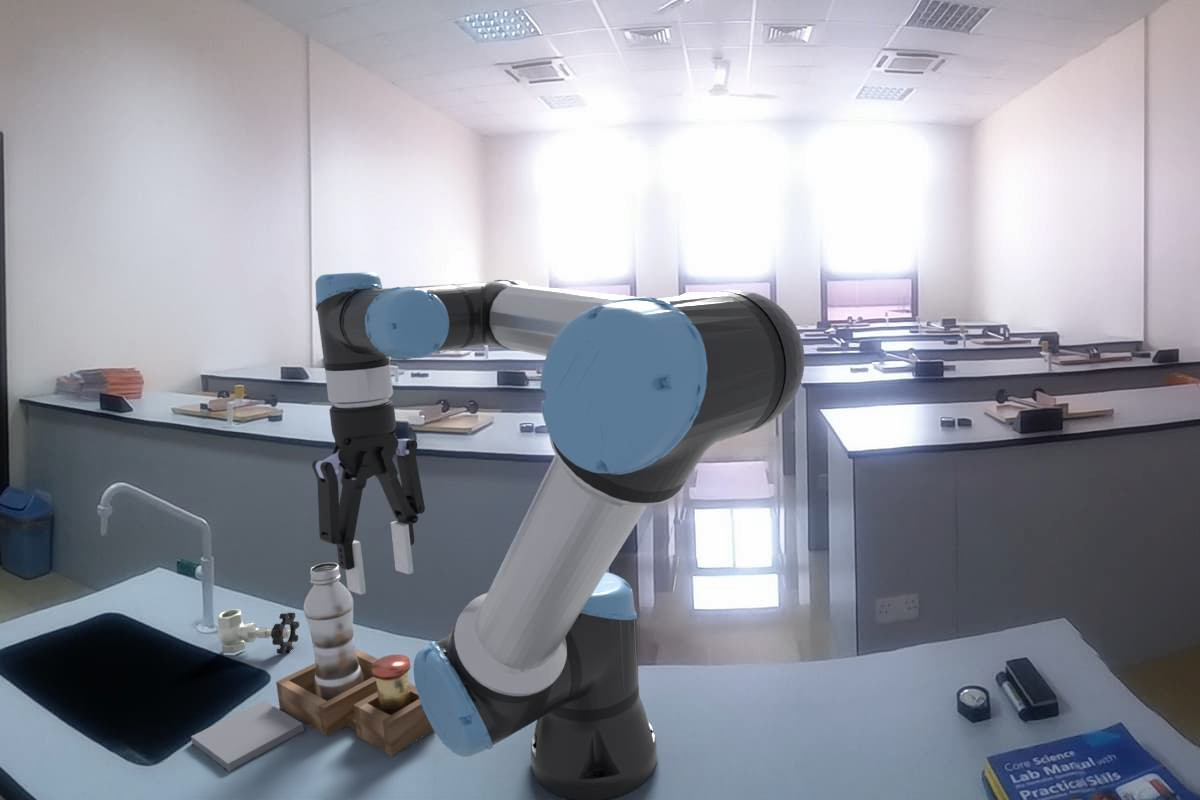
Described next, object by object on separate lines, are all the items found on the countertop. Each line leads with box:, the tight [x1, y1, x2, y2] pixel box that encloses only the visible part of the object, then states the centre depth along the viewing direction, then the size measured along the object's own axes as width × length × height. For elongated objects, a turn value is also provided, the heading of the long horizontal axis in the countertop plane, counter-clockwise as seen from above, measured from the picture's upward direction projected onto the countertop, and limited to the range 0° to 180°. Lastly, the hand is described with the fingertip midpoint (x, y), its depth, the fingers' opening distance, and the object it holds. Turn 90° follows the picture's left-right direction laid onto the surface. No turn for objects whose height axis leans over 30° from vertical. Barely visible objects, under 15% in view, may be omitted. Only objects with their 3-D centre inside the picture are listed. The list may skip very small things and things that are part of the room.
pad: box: [190, 700, 305, 772], centre depth 101 cm, size 10×10×1 cm
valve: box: [217, 608, 300, 655], centre depth 124 cm, size 7×7×12 cm
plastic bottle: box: [303, 562, 364, 701], centre depth 107 cm, size 6×7×20 cm
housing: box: [275, 648, 434, 757], centre depth 105 cm, size 23×12×4 cm, turn 52°
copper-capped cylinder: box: [371, 654, 411, 715], centre depth 100 cm, size 5×5×7 cm
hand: (381, 580), depth 97 cm, fingers open, 6 cm apart
